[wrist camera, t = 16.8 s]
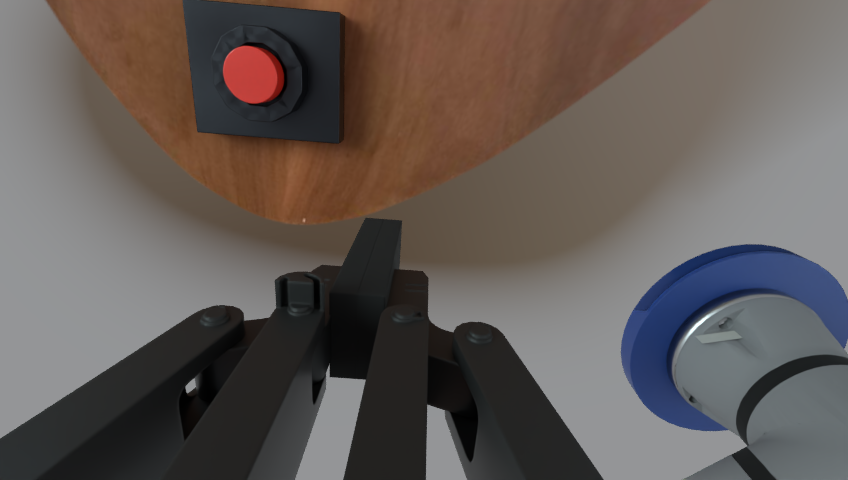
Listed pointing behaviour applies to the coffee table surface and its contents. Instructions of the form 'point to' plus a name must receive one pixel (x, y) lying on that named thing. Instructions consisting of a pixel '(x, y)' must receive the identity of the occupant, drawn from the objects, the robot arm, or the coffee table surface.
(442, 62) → the coffee table surface
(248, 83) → the button
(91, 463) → the robot arm
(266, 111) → the button block
